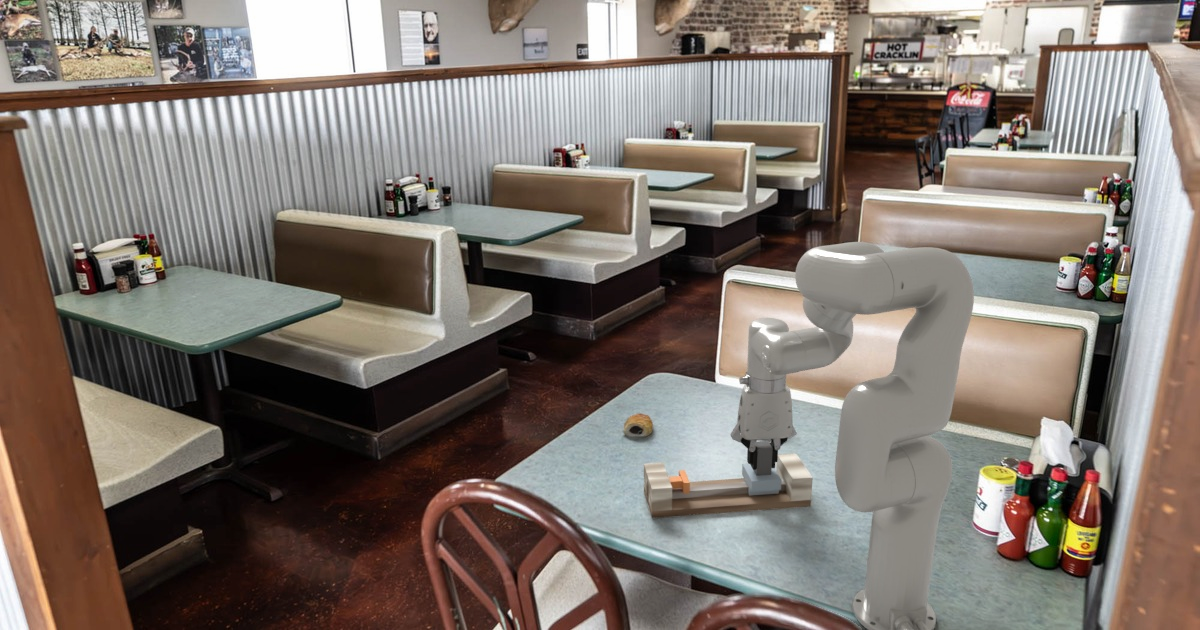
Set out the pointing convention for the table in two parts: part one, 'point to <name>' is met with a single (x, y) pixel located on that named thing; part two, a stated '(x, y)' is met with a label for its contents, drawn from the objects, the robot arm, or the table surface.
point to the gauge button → (680, 482)
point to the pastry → (638, 426)
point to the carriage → (762, 472)
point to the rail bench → (726, 502)
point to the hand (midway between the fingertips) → (762, 464)
